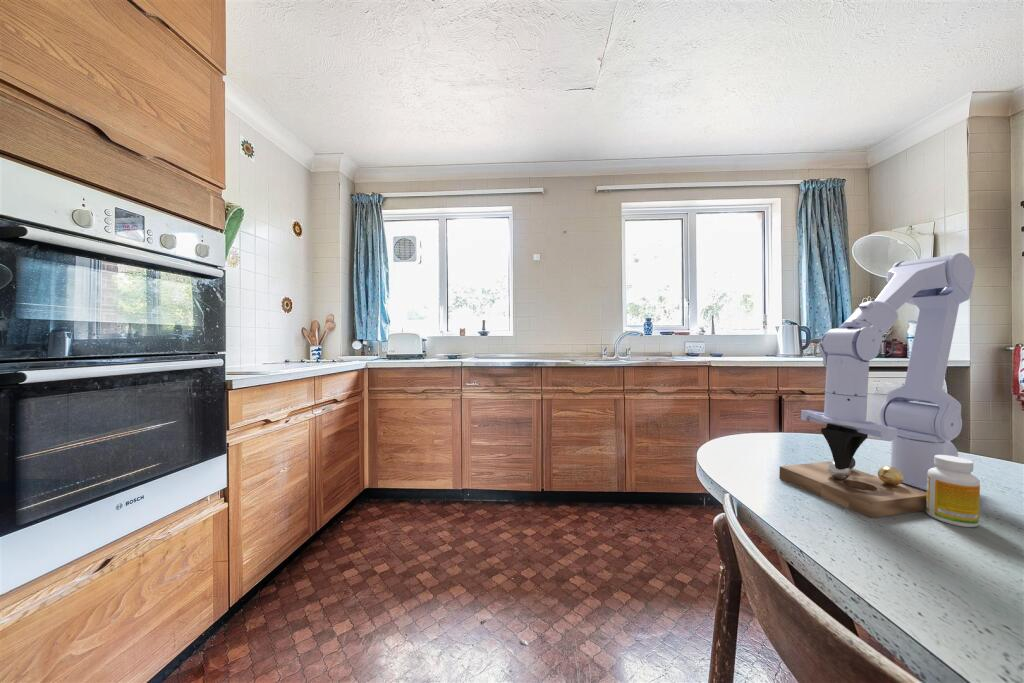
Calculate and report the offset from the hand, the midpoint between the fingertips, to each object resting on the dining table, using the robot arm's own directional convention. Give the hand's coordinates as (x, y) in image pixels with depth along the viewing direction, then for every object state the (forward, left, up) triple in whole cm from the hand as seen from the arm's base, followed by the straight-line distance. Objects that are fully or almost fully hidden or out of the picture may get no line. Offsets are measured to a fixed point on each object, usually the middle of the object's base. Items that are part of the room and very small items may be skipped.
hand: (841, 468), depth 67 cm
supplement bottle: (-8, +11, -5) cm, 14 cm away
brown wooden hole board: (-2, 0, -5) cm, 5 cm away
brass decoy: (-7, +3, -1) cm, 7 cm away
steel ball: (-1, -1, -1) cm, 1 cm away
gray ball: (-7, -4, -1) cm, 8 cm away
